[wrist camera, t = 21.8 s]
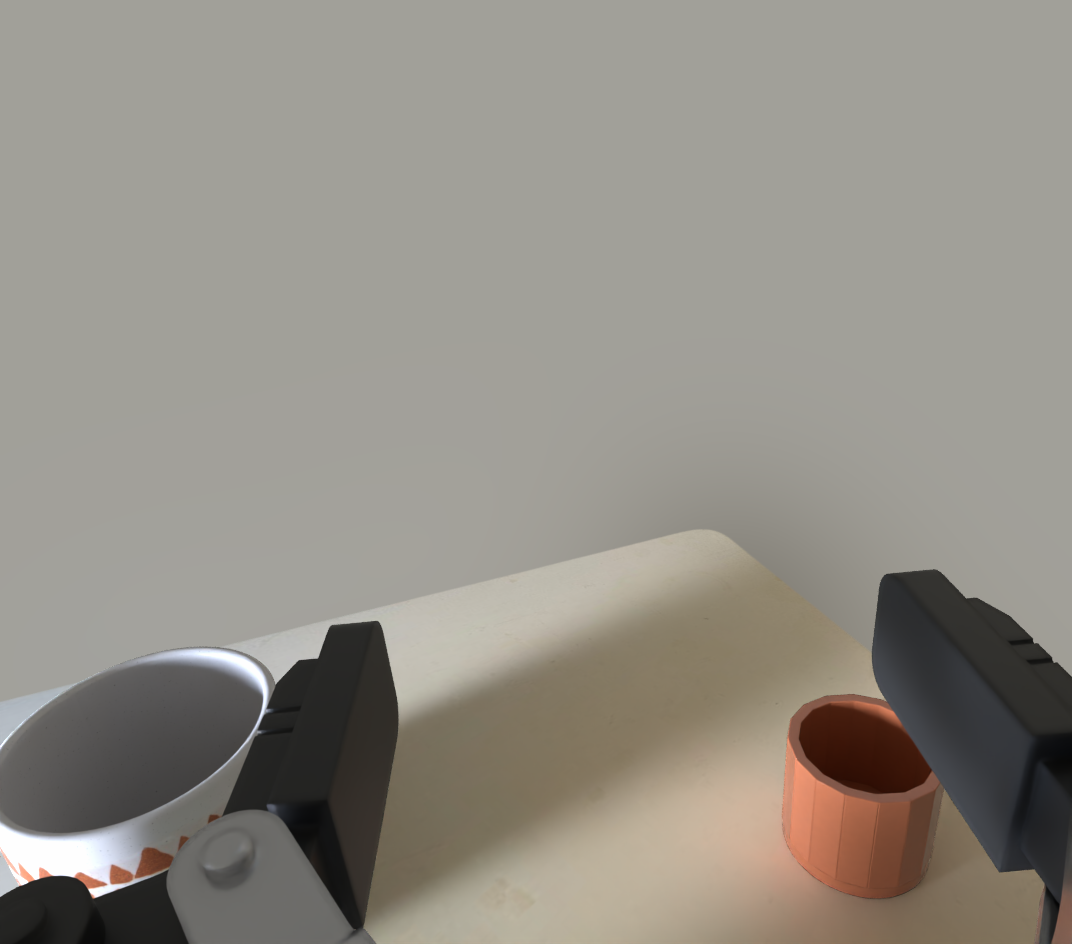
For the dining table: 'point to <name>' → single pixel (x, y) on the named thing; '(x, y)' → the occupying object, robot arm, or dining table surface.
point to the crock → (858, 797)
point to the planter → (128, 765)
